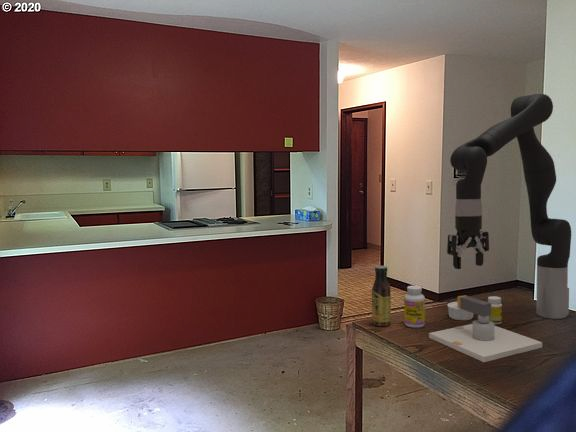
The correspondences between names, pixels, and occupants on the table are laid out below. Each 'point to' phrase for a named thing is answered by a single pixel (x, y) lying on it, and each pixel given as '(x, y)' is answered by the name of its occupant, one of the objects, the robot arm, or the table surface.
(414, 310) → the supplement bottle
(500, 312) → the supplement bottle
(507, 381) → the table surface
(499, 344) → the base
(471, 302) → the handle
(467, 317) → the ramekin
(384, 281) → the sauce bottle
